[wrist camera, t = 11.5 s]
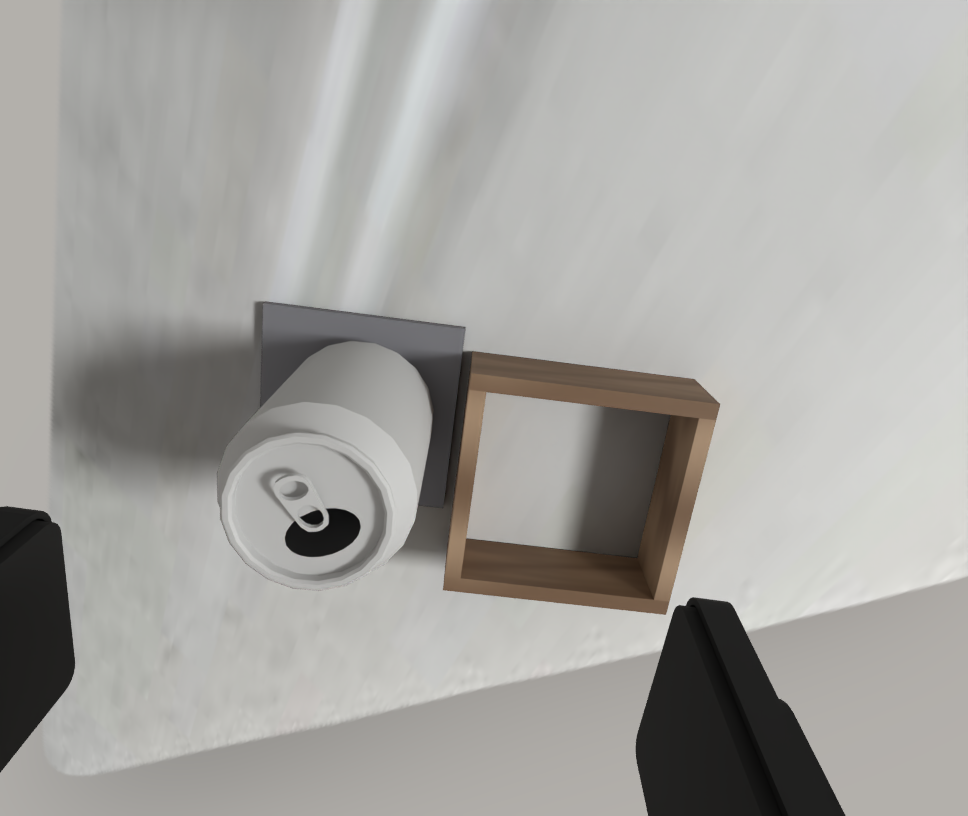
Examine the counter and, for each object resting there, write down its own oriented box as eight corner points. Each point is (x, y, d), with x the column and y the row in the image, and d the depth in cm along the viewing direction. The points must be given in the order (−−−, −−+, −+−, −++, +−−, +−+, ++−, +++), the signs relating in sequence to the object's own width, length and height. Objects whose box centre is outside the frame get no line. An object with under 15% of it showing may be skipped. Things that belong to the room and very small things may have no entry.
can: (327, 492, 37) (258, 634, 25) (264, 367, 34) (157, 461, 23) (456, 446, 36) (445, 572, 24) (400, 315, 34) (360, 386, 22)
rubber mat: (265, 301, 34) (262, 303, 33) (465, 327, 34) (465, 329, 34) (261, 482, 37) (258, 486, 37) (443, 503, 38) (443, 508, 37)
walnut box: (472, 351, 35) (471, 373, 31) (694, 379, 35) (720, 404, 31) (447, 548, 38) (443, 590, 35) (648, 571, 39) (666, 614, 35)
